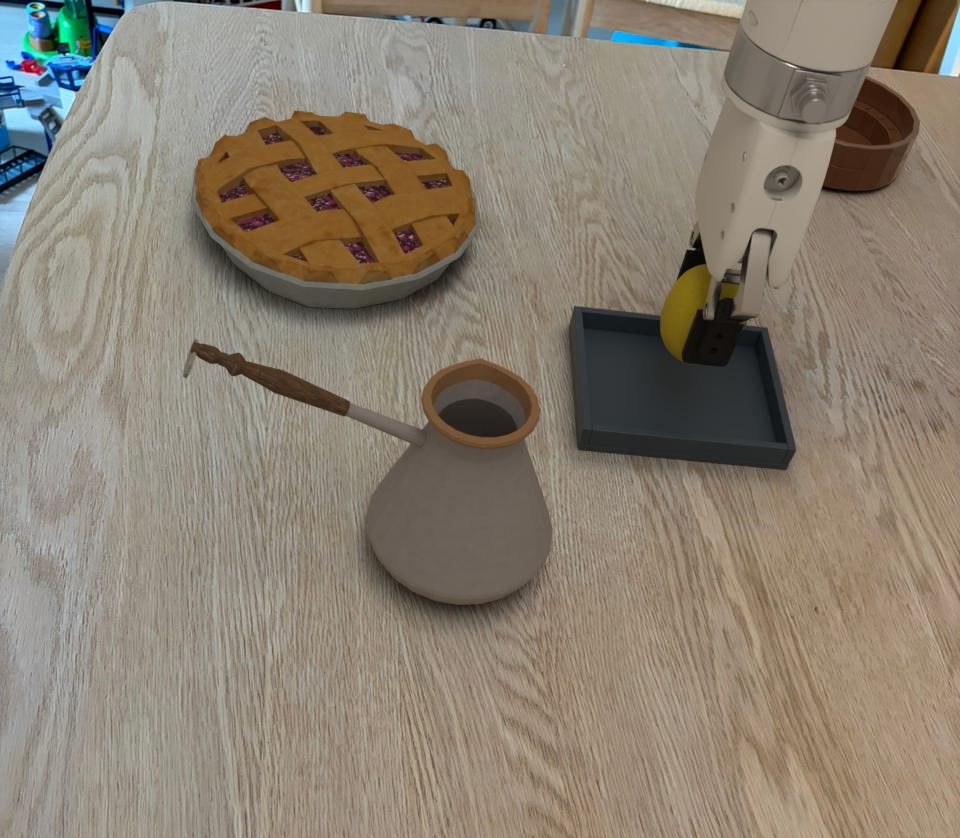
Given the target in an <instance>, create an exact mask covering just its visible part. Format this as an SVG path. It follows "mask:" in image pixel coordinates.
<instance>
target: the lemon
mask: <svg viewBox="0 0 960 838" xmlns="http://www.w3.org/2000/svg"><path fill="white" fill-rule="evenodd" d="M711 277H712V275H711V274H710V273H709V271H708V268H707V264H703V265H698V266H696V267H693V268H691V269H689V270H688V271H686V272H685V273H684V274H683V275H682V276H681V277H680V278H679V279H678V280H677V279H676V280H677V281H676V280H675V282H674V284H673V286H672V287H671V288H670V290H669V291H668V293H667V296H666V298H665V300H664V303H663V305H662V308H661V313H660V315H661V319H660V331H661V336H662V339H663V342H664V345H665V347H666V348H667V349H668V351H669V352H670V353H671V354H672V355H673V356H674V357H675V358H677V359H678V360H680V361H682V362H683V360H682V355H681V354H682V351H683V348H684V345H685V342H686V340H687V337H688V334H689V331H690V329H691V326H692V323H693V320H694V318H695V315H696V312H697V309H700V310H703V309H704V305H705V301H706V297H707V293H708V289H709V285H710V281H711ZM738 287H739V285H738V284H729V283H723V287H722V291H721V295H720V299H719V300H721V299H724V298H733V297H734V296H736V294H737V291H738ZM683 363H684V362H683ZM685 364H690V363H685ZM694 365H699V364H694Z"/></svg>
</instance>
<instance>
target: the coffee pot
mask: <svg viewBox="0 0 960 838" xmlns="http://www.w3.org/2000/svg"><path fill="white" fill-rule="evenodd" d="M196 357H197V358H199V359H200V360H202V361H203V362H206V363H207V364H210V365H218V366H220V367H223V368H225V370H226V371H227V372H228V374H229V375H230V376H231V377H238V376H241V375H242V376H243V377H245V378H247V379H249V380H251V381H252V382H254V383H256V384H258V385H260V386H261V387H263V388H265V389H267V390H269V391H270V392H272V393H273V394H276V395H279V396H282V397H284V398H288V399H290V400H294V401H296V402H299V403H302V404H306V405H309V406H312V407H315V408H316V409H317V408H318V409H321V410H324V411H325V412H330V413H332V414H335V415H338V416H341V417H348V418H350V419H352V420H354V421H357V422H359V423H361V424H364V425H366V426H368V427H371V428H373V429H375V430H377V431H380V432H382V433H384V434H387V435H389V436H392V437H395V438H397V439H399V440H401V441H403V442H406V443H409V445H408V446H407V447H406V449H405V450H404V452H403V453H402V454H401V455H400V457H398V459H397V461H395V463H394V464H393V466H391V468H390V469H389V470H388V471H387V473H386V474H385V475H384V476H383V478H382V479H381V481H380V482H379V483H378V485H377V487H376V488H375V489H374V491H373V493H372V494H371V496H370V499H369V503H368V507H367V510H366V515H365V520H366V521H365V522H366V529H367V530H366V531H367V538H368V541H369V543H370V544H371V545H370V546H371V547H372V549H373V552H374V553H375V555H376V558H377V559H378V561H379V562H380V564H381V565H382V566H383V568H385V570H386V571H387V572H388V573H389V574H390V576H392V578H393V579H394V580H395V581H397V582H398V583H400V584H401V585H402V586H404V587H405V588H407V589H408V590H409V591H411V592H413V593H415V594H417V595H420V596H422V597H425V598H427V599H429V600H432V601H435V602H440V603H446V604H451V605H457V606H462V605H483V604H486V603H490V602H494V601H498V600H501V599H503V598H505V597H507V596H509V595H511V594H512V593H514V592H516V591H518V590H520V589H521V588H523V587H524V586H525V585H527V584H528V583H529V582H530V581H531V580H532V579H533V578H534V577H535V576H536V575H537V574H538V573H539V572H540V571H541V569H542V568H543V566H544V564H545V562H546V560H547V558H548V556H549V554H550V552H551V548H552V539H553V525H552V522H551V517H550V511H549V509H548V506H547V503H546V499H545V497H544V493H543V491H542V488H541V484H540V482H539V479H538V476H537V472H536V470H535V466H534V463H533V460H532V458H531V455H530V454H531V453H530V452H529V449H528V446H527V442H526V438H527V437H528V436H529V435H530V434H532V433H533V431H534V430H535V428H536V427H537V425H538V423H539V421H540V415H541V406H540V403H539V399H538V396H537V394H536V393H535V391H534V390H533V388H532V386H531V385H530V384H529V383H528V382H527V381H526V380H525V379H523V378H522V377H521V376H520V375H518V374H516V373H514V372H513V371H512V370H510V369H507V368H505V367H504V366H502V365H499V364H497V363H494V362H493V361H492V362H491V361H489V360H486V359H483V358H475V359H470V360H469V359H468V360H465V361H462V362H461V361H460V362H457V363H455V364H452V365H448V366H446V367H443V368H441V369H440V370H438V371H437V372H435V373H434V374H433V375H431V377H430V378H429V379H428V381H427V382H426V384H425V385H424V387H423V389H422V393H421V399H420V400H421V405H422V411H423V414H424V416H425V417H426V419H427V422H426V423H425V425H424V426H423V428H418V427H417V426H415V425H411V424H408V423H405V422H403V421H400V420H399V419H395V418H392V417H390V416H388V415H384V414H382V413H379V412H377V411H373V410H371V409H368V408H366V407H363V406H360V405H358V404H355V403H352V402H351V401H350V400H348V399H346V398H344V397H342V396H340V395H337V394H335V393H333V392H331V391H329V390H327V389H326V388H325V389H324V388H323V387H321V386H318V385H316V384H314V383H312V382H309V381H308V380H306V379H303V378H302V377H298V376H297V375H295V374H292V373H290V372H288V371H286V370H283V369H280V368H276V367H272V366H267V365H264V364H260V363H255V362H253V361H247V360H246V359H245V357H244V355H243V354H242V353H241V352H234V353H230V354H228V353H226V352H223V351H221V350H220V349H219V348H218V347H216V346H215V345H211V344H206V343H203V342H202V343H200V342H199V339H196V338H194V340H193V341H192V344H191V346H190V349H189V350H188V354H187V357H186V360H185V363H184V367H183V371H182V378H184V379H188V377H189V376H190V375H191V374H190V373H191V371H192V368H193V367H194V364H195V363H194V362H195V360H196Z"/></svg>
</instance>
